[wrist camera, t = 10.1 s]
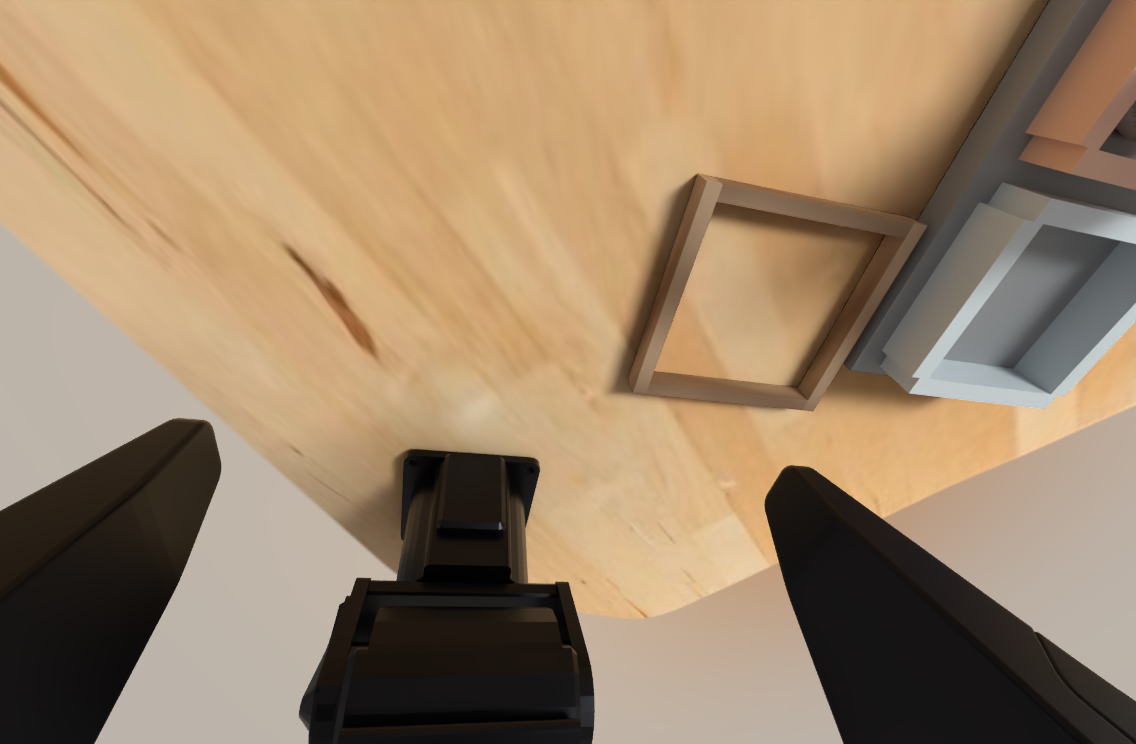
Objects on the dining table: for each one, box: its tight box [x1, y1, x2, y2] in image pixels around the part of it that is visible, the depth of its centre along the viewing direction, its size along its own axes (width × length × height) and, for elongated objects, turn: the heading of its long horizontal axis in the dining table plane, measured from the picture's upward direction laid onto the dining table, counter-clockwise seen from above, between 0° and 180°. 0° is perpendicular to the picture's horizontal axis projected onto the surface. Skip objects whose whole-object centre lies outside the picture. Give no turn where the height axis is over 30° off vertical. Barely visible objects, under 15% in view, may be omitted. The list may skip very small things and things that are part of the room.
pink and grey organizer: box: [843, 0, 1136, 409], centre depth 19 cm, size 18×10×3 cm, turn 168°
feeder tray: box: [628, 174, 927, 411], centre depth 21 cm, size 9×9×1 cm
